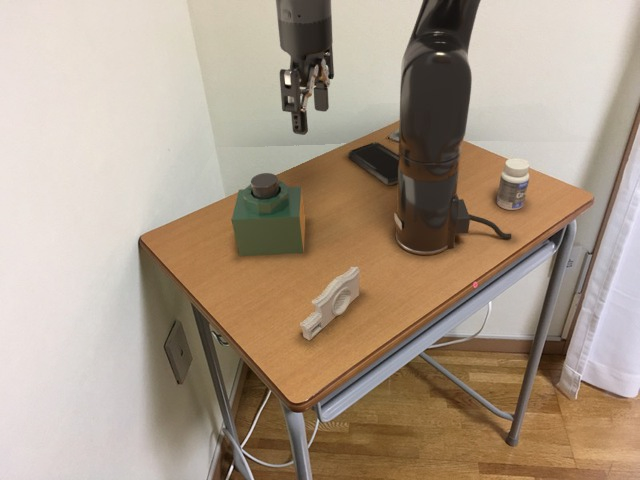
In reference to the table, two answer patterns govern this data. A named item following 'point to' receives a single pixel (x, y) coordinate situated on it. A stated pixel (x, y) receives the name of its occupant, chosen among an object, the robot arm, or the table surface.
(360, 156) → the phone
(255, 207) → the dispenser
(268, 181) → the dark push button
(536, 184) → the table surface
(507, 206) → the pill bottle
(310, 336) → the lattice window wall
